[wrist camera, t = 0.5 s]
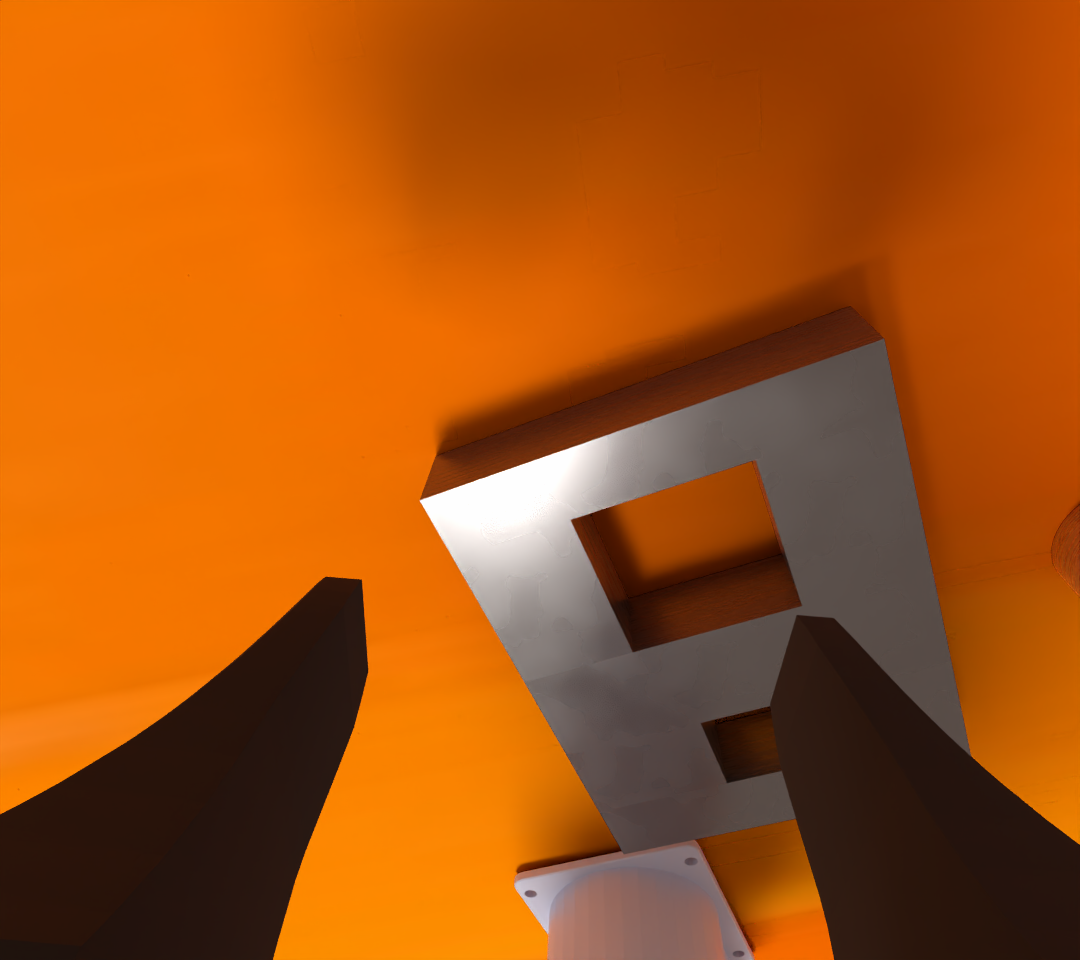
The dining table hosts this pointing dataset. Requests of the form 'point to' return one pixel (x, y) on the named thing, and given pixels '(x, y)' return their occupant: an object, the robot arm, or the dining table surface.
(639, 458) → the fitting block
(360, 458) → the dining table surface
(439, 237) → the dining table surface
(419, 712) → the dining table surface
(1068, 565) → the cylinder
